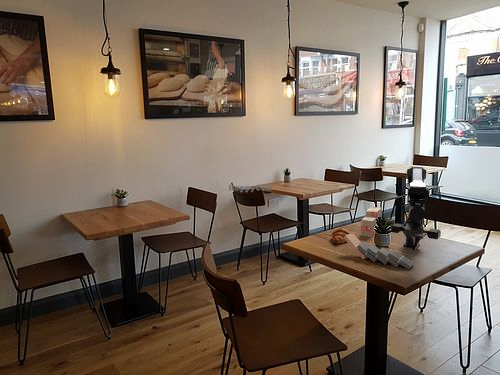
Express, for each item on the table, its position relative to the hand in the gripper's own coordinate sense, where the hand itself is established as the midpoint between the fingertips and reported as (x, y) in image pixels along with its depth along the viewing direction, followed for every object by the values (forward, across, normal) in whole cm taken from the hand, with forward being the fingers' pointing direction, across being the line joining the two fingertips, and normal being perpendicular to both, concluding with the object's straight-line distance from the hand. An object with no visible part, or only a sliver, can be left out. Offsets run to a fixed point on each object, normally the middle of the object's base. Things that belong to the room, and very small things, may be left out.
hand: (414, 250), depth 164 cm
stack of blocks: (+8, -34, +43) cm, 55 cm away
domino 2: (+7, -15, 0) cm, 17 cm away
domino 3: (+7, -10, 0) cm, 13 cm away
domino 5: (+7, -1, 0) cm, 7 cm away
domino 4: (+7, -6, 0) cm, 9 cm away
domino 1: (+7, -20, 0) cm, 21 cm away
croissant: (+8, -42, +20) cm, 47 cm away
